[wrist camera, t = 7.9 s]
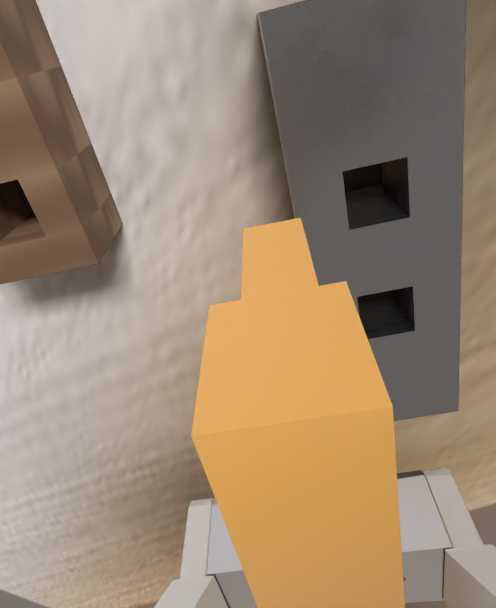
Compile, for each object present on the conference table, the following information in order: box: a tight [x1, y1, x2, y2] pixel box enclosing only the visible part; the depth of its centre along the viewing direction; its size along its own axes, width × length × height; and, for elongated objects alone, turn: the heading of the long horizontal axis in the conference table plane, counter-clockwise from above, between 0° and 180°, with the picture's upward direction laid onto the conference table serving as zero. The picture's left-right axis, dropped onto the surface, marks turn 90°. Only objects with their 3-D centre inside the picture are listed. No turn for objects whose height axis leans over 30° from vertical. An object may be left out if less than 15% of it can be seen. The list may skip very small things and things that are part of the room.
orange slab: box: [191, 218, 405, 608], centre depth 11 cm, size 10×2×8 cm, turn 12°
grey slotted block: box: [257, 0, 466, 421], centre depth 26 cm, size 24×8×6 cm, turn 13°
